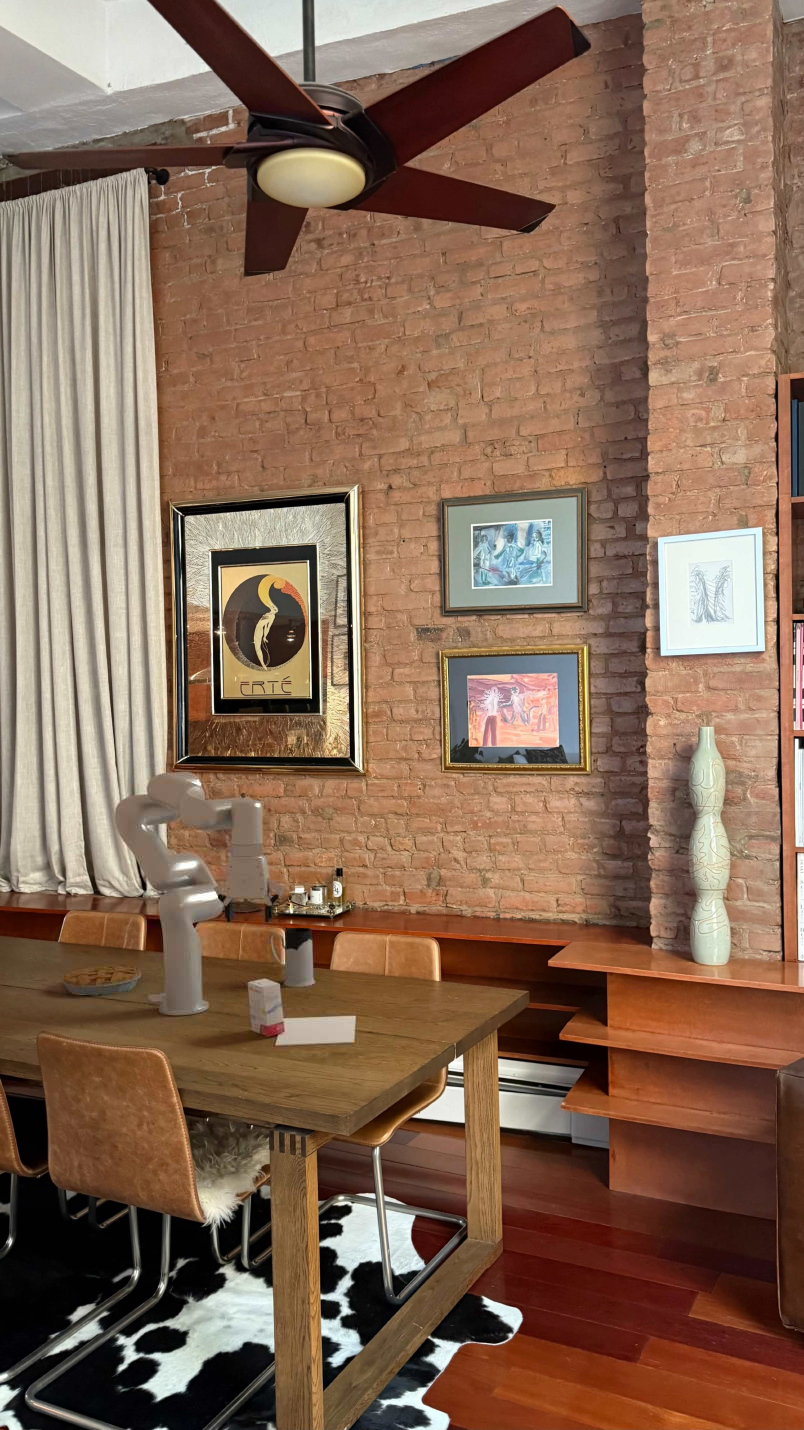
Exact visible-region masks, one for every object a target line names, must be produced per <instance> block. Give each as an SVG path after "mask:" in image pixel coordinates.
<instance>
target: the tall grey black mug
mask: <svg viewBox="0 0 804 1430" xmlns="http://www.w3.org/2000/svg"><path fill="white" fill-rule="evenodd" d="M274 935H278V936H279V937H280V939H281V946H282V948H283V949H284V964H283V963H282V962H281V960H280V959H279V958H278V956H277V954H276V951H275V948H274V944H273V943H274V942H273V940H274V939H273V938H274ZM270 948H271V951H272V952H271V953H272V954H273V958H274V959H275V961H277V963H278V964H279V966H281V967H282V969H283V970H284V973H285V975H284V977H285V981H284V982H283V984H284V986H285V987H289V988H290V987H291V988H303V987H304V986H305V987H309V985H310V986H313V985H314V983H315V984H316V980H315V979H314V960H313V959H314V957H313V956H314V955H313V951H314V950H313V939H312V929H311V928H309V927H291V928H288V929H285V930H284V937H283V934H282V933H280V932H274V933H272V934H271V936H270ZM312 984H313V985H312Z"/></svg>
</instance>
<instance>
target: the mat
mask: <svg viewBox="0 0 804 1430" xmlns="http://www.w3.org/2000/svg"><path fill="white" fill-rule="evenodd" d="M356 1017H357V1015H344V1016H343V1015H342V1016H341V1015H340V1016H317V1017H316V1016H315V1017H309V1016H308V1017H287V1018H284V1017H283V1020H284V1029H285V1032H282V1033H279V1034H277V1037H276V1042H275V1047H285V1046H311V1045H316V1046H317V1045H334V1044H335V1045H337V1044H339V1045H340V1044H354V1043H355V1038H356V1037H355V1035H356V1033H355V1032H356V1022H357V1021H356Z"/></svg>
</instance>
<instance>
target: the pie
mask: <svg viewBox="0 0 804 1430" xmlns="http://www.w3.org/2000/svg"><path fill="white" fill-rule="evenodd" d="M141 977H142V973H141V971H140V968H136V966H127V965H125V964H121V965H118V966H115V965H108V966H100V965H95V966H94V967H91V968H87V967H86V968H85V967H84V968H82V969H79V970H71V971H70V972H69V973H68V974H65V975H64V976H63V980H61V983H63V984H64V985H65V987H66V989H67V991H68V990H69V991H70V992H71V993H75V994H85V995H95V994H107V995H112V994H111V993H114V994H117V993H116V992H120V993H123V992H122V991H124V992H127V990H128V991H131V990H132V989H134V988H135V987H136V985H137V982H138V980H139V979H140V978H141ZM133 987H134V988H133ZM69 991H68V992H69ZM70 992H69V993H70ZM71 993H70V994H71Z"/></svg>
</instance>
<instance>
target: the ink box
mask: <svg viewBox="0 0 804 1430" xmlns="http://www.w3.org/2000/svg"><path fill="white" fill-rule="evenodd" d="M247 990H248V992H247V993H248V1001H249V1013H250V1022H251V1023H250V1024H251V1031H252V1032H255V1033H257V1034H260V1035H262V1036H265V1037H268V1038H269V1037H272V1036H276V1035H278V1034H279V1033H282V1032H285V1029H284V1020H283V1018H284V1013H283V1006H282V1004H283V1003H282V995H281V983H278V982H276V981H272V980H270V979H267V978H261V979H257V980H252V981H248V982H247Z"/></svg>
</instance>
